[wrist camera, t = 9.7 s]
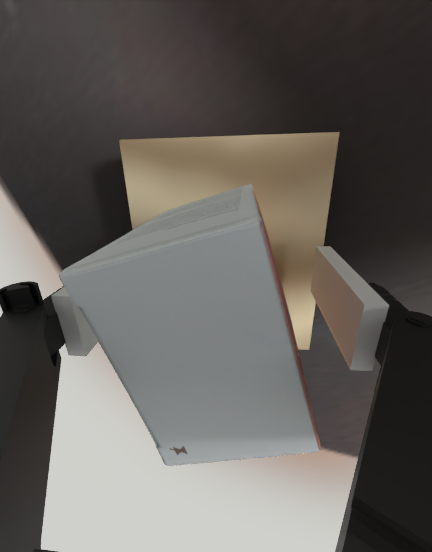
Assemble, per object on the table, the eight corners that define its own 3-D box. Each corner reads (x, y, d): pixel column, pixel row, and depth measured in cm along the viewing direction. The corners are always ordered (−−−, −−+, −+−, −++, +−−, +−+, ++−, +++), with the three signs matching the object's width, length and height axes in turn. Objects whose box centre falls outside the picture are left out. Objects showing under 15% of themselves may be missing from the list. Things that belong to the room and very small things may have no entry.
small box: (283, 300, 18) (326, 459, 8) (205, 317, 19) (164, 473, 10) (253, 180, 15) (267, 211, 6) (164, 208, 16) (48, 275, 7)
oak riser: (143, 144, 19) (119, 139, 15) (320, 138, 18) (339, 131, 14) (163, 315, 24) (149, 342, 21) (299, 319, 23) (309, 349, 19)
